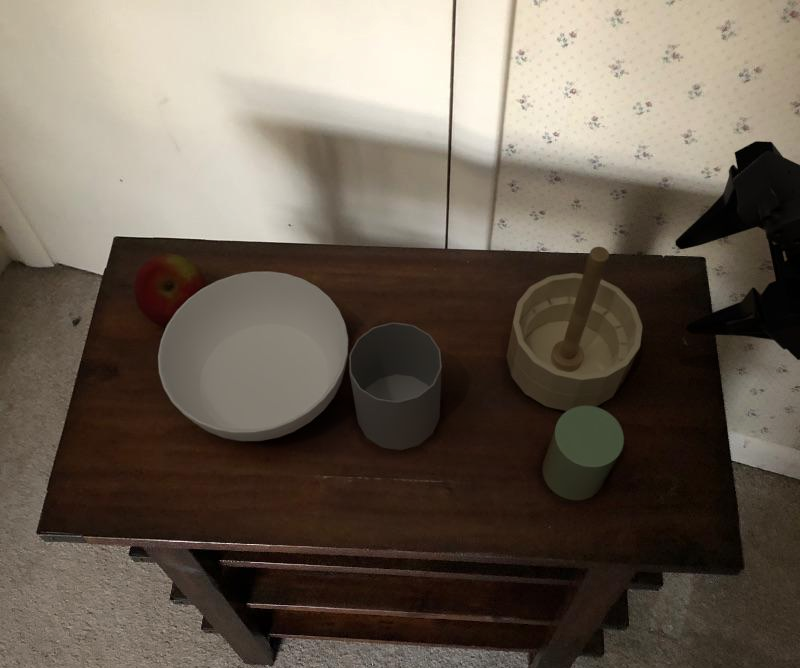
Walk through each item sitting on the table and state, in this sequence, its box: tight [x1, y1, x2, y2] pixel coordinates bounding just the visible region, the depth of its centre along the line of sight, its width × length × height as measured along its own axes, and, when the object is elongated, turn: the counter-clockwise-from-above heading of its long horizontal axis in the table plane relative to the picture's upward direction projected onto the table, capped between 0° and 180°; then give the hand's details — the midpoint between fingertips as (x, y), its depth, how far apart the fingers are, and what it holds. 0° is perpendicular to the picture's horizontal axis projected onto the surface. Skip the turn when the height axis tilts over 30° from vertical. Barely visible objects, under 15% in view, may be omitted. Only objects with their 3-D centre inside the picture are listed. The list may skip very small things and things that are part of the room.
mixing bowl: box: [506, 272, 643, 412], centre depth 77 cm, size 12×12×7 cm
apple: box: [133, 253, 208, 329], centre depth 81 cm, size 8×8×8 cm
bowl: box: [157, 271, 349, 442], centre depth 76 cm, size 18×18×7 cm
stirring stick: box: [551, 246, 610, 372], centre depth 72 cm, size 3×3×17 cm
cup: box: [348, 321, 443, 451], centre depth 73 cm, size 8×8×10 cm
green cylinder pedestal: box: [541, 406, 625, 501], centre depth 71 cm, size 6×6×8 cm
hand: (682, 286), depth 68 cm, fingers open, 9 cm apart
